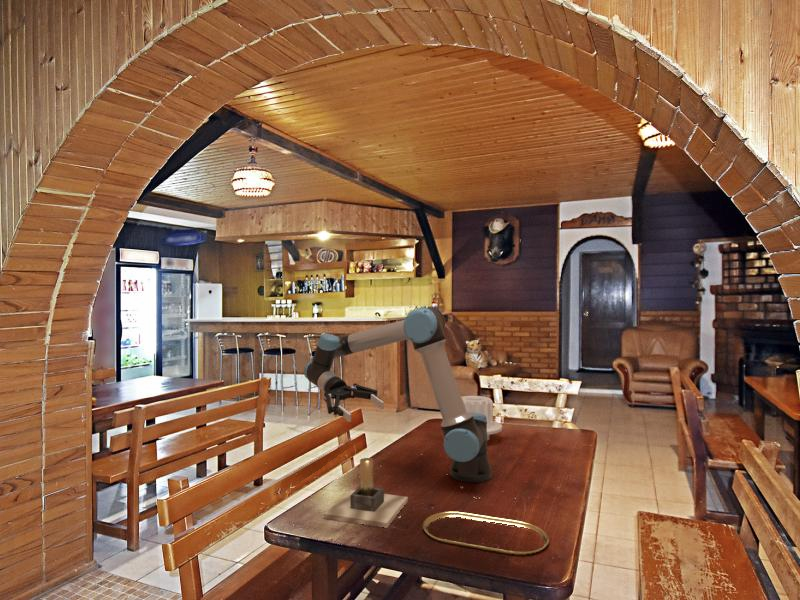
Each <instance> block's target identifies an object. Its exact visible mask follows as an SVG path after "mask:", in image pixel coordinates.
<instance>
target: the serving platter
mask: <svg viewBox="0 0 800 600" xmlns="http://www.w3.org/2000/svg"><path fill="white" fill-rule="evenodd" d="M445 517H449V518H456V517H461V518H460V519H465V518H466V519H465V520H471V519H472V520H473V521H479V522H483V521H486V522H485V523H490V522H495V523H494V524H496V523H502V524H507V525H506V526H508V525H515V526H517V527H516V528H520V527H524V528H528V529H532V530H534V531H536V532H538V533H539V534H540V535H541V536H542V537H543V538H544V541H545V542H544V543H545V544H544V546H543V547H542V546H541V547H542V548H541V547H540V548H538V549H535V550H530V551H529V550H528V551H513V550H506V549H505V550H504V549H500V548H494V547H489V546H488V547H487V546H482V545H477V544H471V543H466V542H460V541H453V540H449V539H443V538H440V537H436V536H434V535H432V534H431V533H430V532H429V526H430V525H431V524H432V523H434V522H435V521H438V520H441V518H442V519H446V518H445ZM439 518H440V519H439ZM437 519H438V520H437ZM431 522H432V523H431ZM430 523H431V524H430ZM429 524H430V525H429ZM502 524H501V525H502ZM524 528H523V529H524ZM422 529H423V530H424V533H426V534H427V536H429V537H430V538H432V539H433V540H435V541H438V542H441V543H446V544H450V545H451V544H452V545H456V546H463V547H466V548H474V549H477V550H478V549H479V550H484V551H488V552H489V551H490V552H494V551H495V553H501V554H506V555H512V554H514V555H515V556H527V554H529V555H533V554H532V553H534V554H537V553H539V552H541V551H542V550H544V549H545V548H546V547H547V546H548V544H549V542H550V539H549V535H548V534H547V533H546V532H545V531H544V530H543V529H542V528H540V527H538V526H537V525H534V524H531V523H528V522H524V521H520V520H514V519H510V518H509V519H507V518H502V517H501V518H500V517H494V516H489V515H481V514H474V513H469V512H461V511H444V512H437V513H434V514H430V515H429V516H428V517H427V518H425V519H424V521H423V522H422ZM528 529H527V530H528ZM536 552H537V553H536ZM514 555H513V556H514Z"/></svg>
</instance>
